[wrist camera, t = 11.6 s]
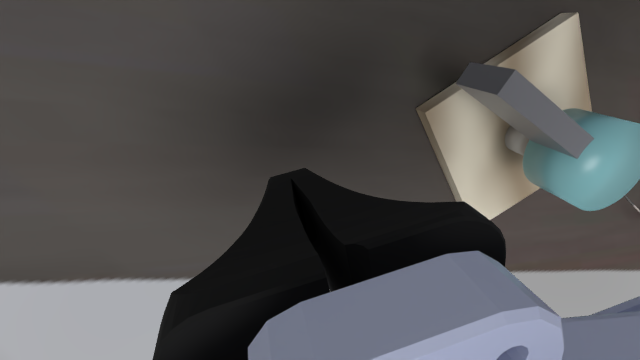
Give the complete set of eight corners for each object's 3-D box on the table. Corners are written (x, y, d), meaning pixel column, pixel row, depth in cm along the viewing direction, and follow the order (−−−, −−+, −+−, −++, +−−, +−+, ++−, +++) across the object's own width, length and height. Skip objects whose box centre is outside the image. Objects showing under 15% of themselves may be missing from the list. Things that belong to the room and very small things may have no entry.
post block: (561, 13, 22) (629, 11, 18) (582, 146, 27) (639, 166, 23) (415, 108, 22) (453, 126, 18) (464, 221, 27) (502, 253, 23)
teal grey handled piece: (608, 132, 21) (667, 149, 18) (553, 197, 22) (600, 222, 19) (493, 25, 16) (548, 26, 13) (432, 116, 18) (470, 133, 15)
